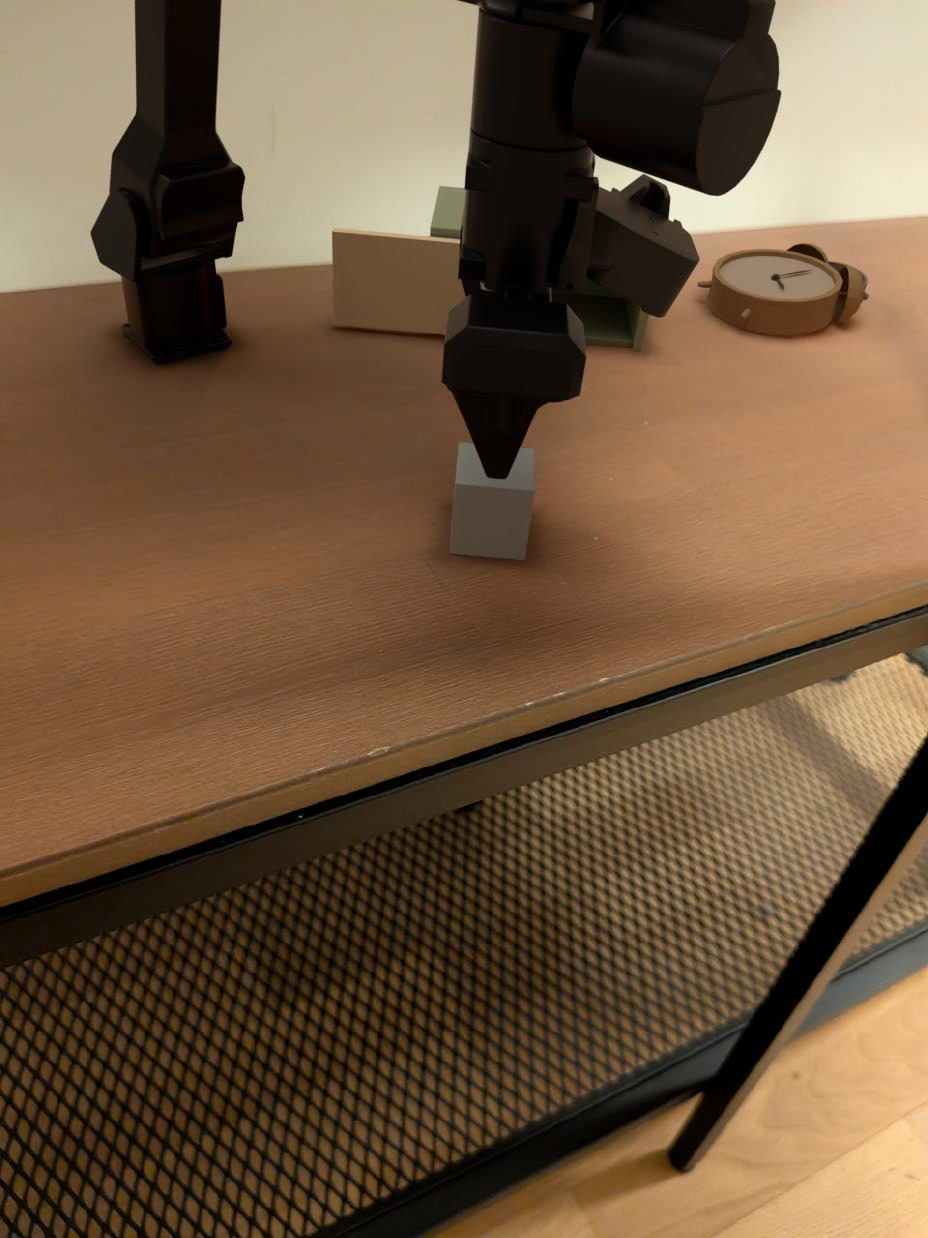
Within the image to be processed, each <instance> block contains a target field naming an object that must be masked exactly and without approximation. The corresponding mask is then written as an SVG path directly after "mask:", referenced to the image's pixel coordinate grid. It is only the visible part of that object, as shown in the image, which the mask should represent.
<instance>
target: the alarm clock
mask: <svg viewBox="0 0 928 1238" xmlns="http://www.w3.org/2000/svg"><path fill="white" fill-rule="evenodd" d="M868 282H869V278H868V276H867V275H866V274H865V273H864V272H863V271H861V270H860V269H859V268H856V267H855V266H852V265H849V264H847V263H842V262H838V261H832V260H829V259H828V257H827V255H826V253H825V251H824V250H823V249H822V248H821V247H820V246H817V245H815V244H814V243H809V242H801V243H797V244H793V245H792V246H790V247H789V248H788V249H786V250H783V249H775V248H774V249H771V248H755V249H743V250H739V251H735V252H731V253H727V254H726V255H724V256H722V257H719V258H718V259H717V260H716V261H715V263H714V265H713V267H712V275H711V280H701V281H698V282H697V288H703V289H709V291H708V295H707V298H706V299H707V300H706V301H707V306H708V309H709V310H710V311H711V312H712V313H713V314H714V316H716V318H718V319H720V320H722V321H723V322H724V323H727V324H728V325H730V326H734V327H735V328H736V327H737V328H740V329H743V330H745V331H749V332H753V333H759V334H765V335H776V336H793V335H803V334H804V335H805V334H808V333H812V332H816V331H818V330H822V329H823V328H825V327H826V326H827V325H828V324H830V323H831V322H832V321H834V322H844V321H847V320H849V319H851V318H853V316H854V315H855V314H856V313H857V312H858V311H859V309H860V307H861V306H862V304H863V302H864V301H866V300H869V297H870V294H869V293H868V292H866V290H867V286H868Z"/></svg>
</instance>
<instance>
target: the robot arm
mask: <svg viewBox="0 0 928 1238" xmlns="http://www.w3.org/2000/svg"><path fill="white" fill-rule="evenodd" d="M456 1H458V2H462V3H464V4H469V5H473V6H476V7H478V13H477V26H476V40H475V42H476V44H475V54H474V55H475V56H474V69H473V82H472V97H471V111H470V122H469V123H470V125H469V126H470V127H469V136H468V151H467V157H466V164H465V173H464V176H465V177H464V186H463V188H464V189H466V191H465V205H464V211H463V218H462V224H461V235H460V252H459V256H460V257H459V270H458V279H461V281H462V285H463V289H464V293H465V297H466V298H465V299H464V300H463V301H461V302H460V303H459V304H458V305H456V306H455V307H454V308H453V309H452V310H450V311H449V314H448V320H447V327H446V334H445V335H444V341H443V352H442V353H443V355H442V367H441V370H442V371H441V384H443V385H445V387H446V389H447V390H448V391H449V392H451V394H452V396H453V398H454V401H455V403H456V406H457V407H458V410H459V412H460V415H461V416H462V419H463V422H464V424H465V426H466V428H467V431H468V433H469V436H470V438H471V441H472V443H473V444H474V446H475V449H476V451H477V454H478V456H479V459H480V461H481V464H482V467H483V469H484V472H485V474H486V476H487V477H488V478H492V479H506V478H507V477H508V475H509V473H510V471H511V468H512V466H513V464H514V461H515V459H516V457H517V454H518V452H519V450H520V448H522V445H523V443H524V440H525V438H526V435H527V434H528V431H529V429H530V427H531V425H532V423H533V420H534V418H535V416H536V414H537V412H538V410H539V409H541V408H542V407H544V406H545V405H547V404H550V403H552V404H554V403H562V402H565V401H570V400H573V399H574V398H577V397H579V396H581V391H582V386H583V379H584V375H585V374H584V373H585V369H586V362H587V350H586V344H585V339H584V329H583V324H582V322H581V321H580V320H579V319H578V317H577V316H576V315H575V314H574V312H573V311H572V310H571V309H570V307H569V306H568V305H567V304H566V303H558V302H552V299H551V295H552V294H553V293H554V292H556V291H558V292H562V293H573V294H583V293H584V286H585V280H586V277H587V278H588V279H589V280H591V281H592V282H594V283H595V284H597V285H599V286H601V287H603V288H605V289H607V290H609V291H611V292H613V293H615V294H617V295H619V296H621V297H623V298H625V299H628V300H630V301H632V302H634V303H636V304H638V305H640V306H641V309H642V311H643V312H645V313H647V314H649V316H652V317H655V318H659V319H662V318H665V317H666V315H667V314H668V312H669V310H670V309H671V307H672V306H673V304H674V302H675V301H676V300H677V298H678V296H679V295H680V293H681V291H682V289H683V288H684V287H685V285H686V283H687V282H688V280H689V279H690V277H691V275H692V273H693V272H694V271H695V269H696V267H697V265H699V262H700V260H701V259H700V256H699V253H698V251H697V248H696V245H695V242H694V240H693V237H692V235H691V234H690V232H689V231H687V229H685V228H684V227H683V224H682V221H680V220H678V219H676V218H674V219H673V221H672V220H671V219H670V208H671V194H670V191H669V189H668V186H667V185H666V184H665V183H662V182H661V181H659V180H657V179H655V178H658V179H660V180H663V181H666V182H669V183H672V184H675V185H678V186H680V187H684V188H687V189H689V190H692V191H695V192H699V193H701V194H704V195H707V196H709V197H711V196H712V197H721V196H723V195H726V194H727V193H729V192H730V191H732V190H733V189H735V188H736V187H737V186H739V184H740V183H741V181H743V180H744V179H745V178H746V176H747V175H748V173H749V172H750V171H751V169H752V168H753V167H754V165H755V164H756V162H757V160H758V159H759V156H760V155H761V153H762V151H763V149H764V147H765V145H766V143H767V142H768V141H767V140H768V139H769V137H770V133H771V131H772V129H773V126H774V123H775V120H776V116H777V114H778V111H779V106H780V102H781V98H782V90H781V89H779V80H780V56H779V51H778V48H777V47H778V46H777V44H776V42H775V41H774V39H773V37H772V35H770V34H769V33H770V28H771V24H772V20H773V17H774V12H775V10H776V9H775V8H776V4H777V2H776V0H456ZM222 6H223V0H134V43H135V45H134V46H135V47H134V49H135V114H134V116H133V117H132V119H131V121H130V123H129V124H128V126H127V127H126V129H125V131H124V132H123V134H122V136H121V137H120V139H119V140H118V143H117V144H116V146H115V147H114V149H113V151H112V153H111V159H110V160H111V162H110V175H109V177H110V178H109V187H108V191H109V192H108V196H107V198H106V200H105V202H104V204H103V206H102V208H101V210H100V212H99V214H98V216H97V218H96V219H95V221H94V223H93V225H92V227H91V230H90V232H89V233H90V237H91V241H92V245H93V247H94V250H95V253H96V256H97V259H98V262H99V263H100V264H101V265H102V266H104V267H105V268H108V269H109V270H111V271H112V272H114V273H116V274H118V275H119V276H120V280H121V286H122V292H123V297H124V304H125V308H126V317H127V322H125V323H122V324H121V327H120V328H121V331H122V333H123V334H124V335H125V336H126V337H128V339H129V340H130V341H132V342H133V344H135V346H137V348H139V350H140V351H142V352H143V353H144V354H145V356H147V357H148V358H149V359H150V360H151V361H152V362H154V363H162V362H166V361H170V360H175V359H179V358H184V357H188V356H192V355H197V354H200V353H205V352H210V351H213V350H218V349H222V348H225V347H230V346H232V344H233V337H232V336H231V335H230V334H228V333H227V332H226V331H225V329H226V328H227V326H228V319H227V317H228V316H227V307H226V306H227V305H226V296H225V287H224V286H225V285H224V279H223V277H222V276H221V275H220V274H219V273H217V265H216V264H217V263H216V260H219V259H229V258H232V257H233V254H234V248H235V242H236V241H235V239H236V234H237V229H238V224H239V223H243V222H244V221H245V217H244V212H243V192H244V187H245V182H246V175H245V172H244V169H243V167H242V166H241V165H239V164H237V163H236V162H235V161H233V159H232V157H231V155H230V154H229V152H228V150H227V148H226V146H225V145H224V143H223V141H222V139H221V137H220V135H219V133H218V131H217V109H218V89H219V88H218V87H219V68H220V67H219V66H220V50H221V49H220V44H221V28H222V27H221V26H222ZM595 156H597V157H598V158H600V159H602V160H605V161H607V162H610V163H613V164H615V165H620V166H623V167H625V168H628V169H631V170H633V171H637V172H640V173H642V174H641V175H640V176H638V177H637V178H636V179H635V180H633V181H632V182H630V183H629V184H627V185H626V186H625V187H623V189H621V190H619V189H618V188H616V187H611V189H610V190H608V189H606V188H604V187H601V186H600V181H599V176H594V174H595V168H596V159H595ZM653 177H654V178H653Z"/></svg>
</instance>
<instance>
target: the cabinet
mask: <svg viewBox="0 0 928 1238" xmlns="http://www.w3.org/2000/svg"><path fill="white" fill-rule="evenodd" d="M465 191H466V189H464V187H457V186H448V185H447V186H446V185H439V186H438V191H437V194H436V200H435V204H434V209H433V212H432V213H433V214H432V217H431V218H432V219H431V223H430V230H429V231H430V232H429V233H430V234H429V237H439V238H450V239H460V235H461V224H462V218H463V211H464V205H465ZM551 299H552V302H558V303H566V304H567V305H568V306H569V307H570V309H571V310H572V311H573V312H574V314H575V315H576V316H577V317H578V319H579V320H580V321H581V322H582V324H583V329H584V339H585V345H595V346H606V347H616V348H618V347H619V348H627V349H631V350H632V351H639V352H641V351H642V350H643V345H644V342H645V341H644V340H645V335H646V331H647V328H648V323H649V322H648V321H649V317H650V315H649V314H647V313H645V312H643V311H642V309H641V306H640V305H638V304H636V303H634V302H632V301H630V300H628V299H625V298H623V297H621V296H619V295H617V294H615V293H613V292H611V291H609V290H607V289H605V288H603V287H601V286H599V285H597V284H595V283H594V282H592V281H591V280H589V279H588V278H587V277H586V280H585V286H584V293H583V294H573V293H562V292H558V291H556V292H554V293H553V294H552V295H551Z"/></svg>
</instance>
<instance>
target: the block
mask: <svg viewBox="0 0 928 1238" xmlns="http://www.w3.org/2000/svg"><path fill="white" fill-rule="evenodd" d="M535 464H536V463H535V448H527V447H520V450H519V452H518V454H517V457H516V459H515V461H514V464H513V466H512V468H511V471H510V473H509V475H508V477H507V478H506V479H492V478H488V477H487V476H486V474H485V472H484V469H483V467H482V464H481V461H480V459H479V456H478V454H477V451H476V449H475V446H474V444H473V442H463V441H460V442H458V449H457V459H456V469H455V479H454V490H453V501H452V502H453V503H452V513H451V514H452V516H451V528H450V538H449V539H450V540H449V554H450V555H460V556H469V557H470V556H471V557H482V558H492V559H504V560H514V561H516V560H517V561H525V559H526V554H527V547H528V540H529V535H530V534H529V533H530V526H531V519H532V515H533V514H532V513H533V507H534V499H535V494H536V493H535V492H536V473H535V469H536V468H535Z"/></svg>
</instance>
